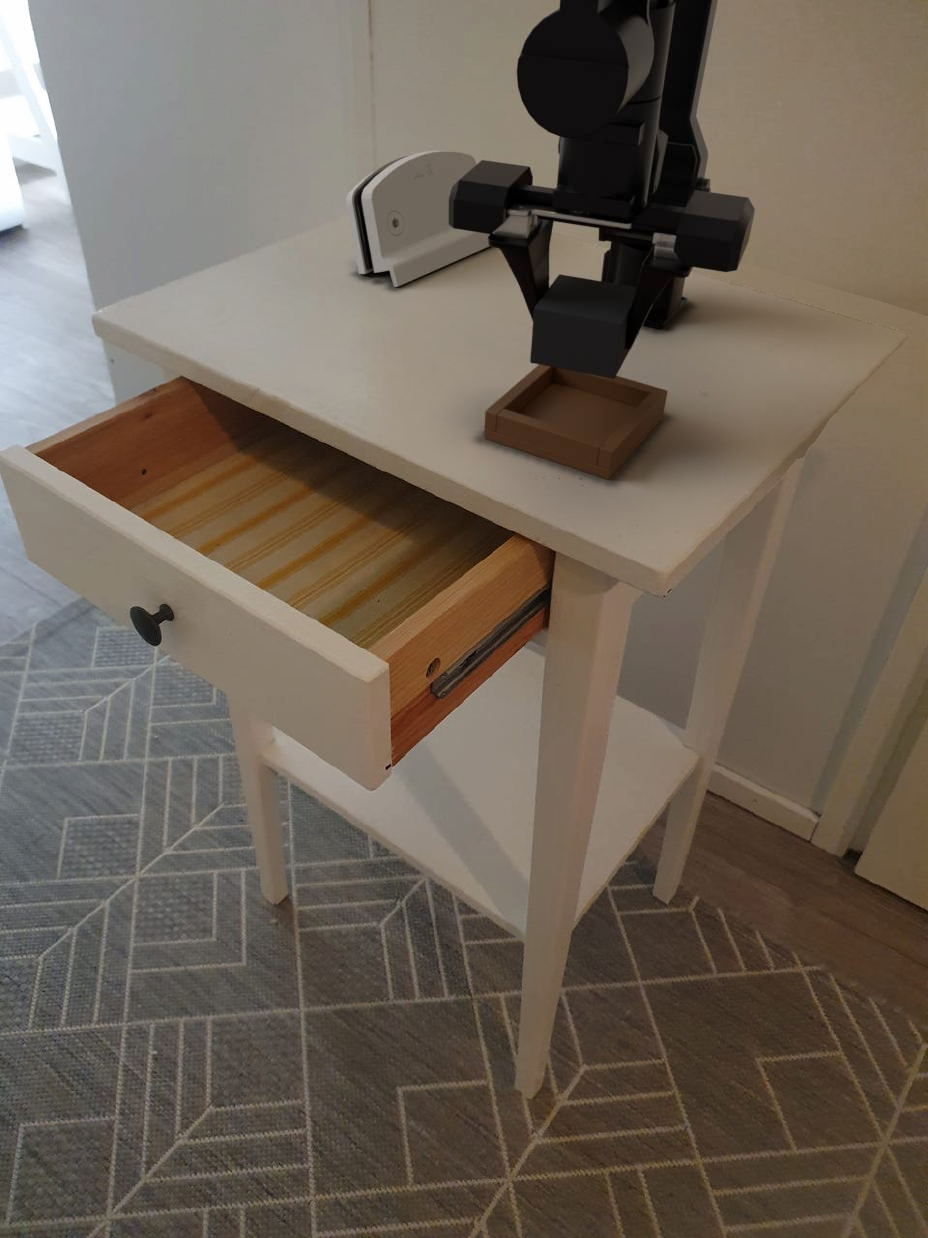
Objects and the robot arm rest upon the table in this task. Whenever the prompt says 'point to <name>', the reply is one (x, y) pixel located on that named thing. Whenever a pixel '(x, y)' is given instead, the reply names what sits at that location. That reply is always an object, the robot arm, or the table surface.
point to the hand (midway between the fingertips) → (585, 338)
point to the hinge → (410, 216)
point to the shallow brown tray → (576, 418)
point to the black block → (582, 326)
